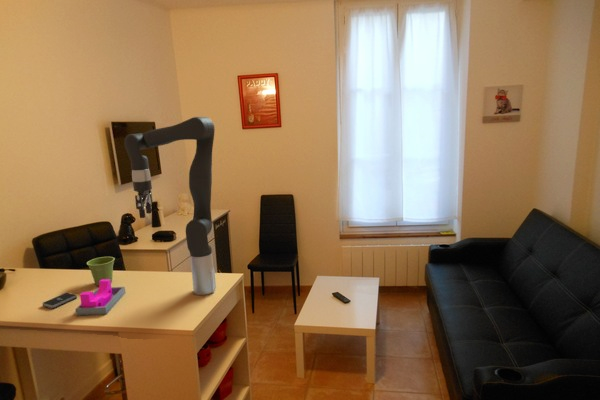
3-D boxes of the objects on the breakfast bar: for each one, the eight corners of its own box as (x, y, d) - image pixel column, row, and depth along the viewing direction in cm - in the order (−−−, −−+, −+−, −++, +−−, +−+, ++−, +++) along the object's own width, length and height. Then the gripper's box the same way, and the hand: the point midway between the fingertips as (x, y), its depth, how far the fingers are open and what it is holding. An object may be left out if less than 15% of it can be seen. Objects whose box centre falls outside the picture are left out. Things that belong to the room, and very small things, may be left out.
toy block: (97, 312, 156) (94, 294, 155) (82, 312, 157) (79, 294, 155) (118, 295, 171) (115, 279, 169) (104, 295, 171) (102, 279, 170)
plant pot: (123, 281, 188) (119, 258, 186) (99, 290, 178) (95, 266, 176) (108, 276, 194) (105, 254, 192) (84, 285, 185) (81, 262, 182)
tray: (125, 292, 174) (124, 286, 174) (106, 314, 155) (105, 307, 155) (98, 294, 174) (98, 288, 173) (76, 316, 155) (75, 309, 154)
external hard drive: (42, 307, 164) (41, 303, 164) (67, 296, 174) (66, 292, 173) (53, 310, 161) (52, 305, 161) (78, 299, 171) (77, 294, 171)
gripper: (144, 181, 166) (149, 219, 169) (155, 176, 180) (159, 211, 183) (126, 182, 165) (131, 219, 169) (138, 177, 179) (143, 212, 183)
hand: (146, 215), depth 176 cm, fingers open, 8 cm apart
